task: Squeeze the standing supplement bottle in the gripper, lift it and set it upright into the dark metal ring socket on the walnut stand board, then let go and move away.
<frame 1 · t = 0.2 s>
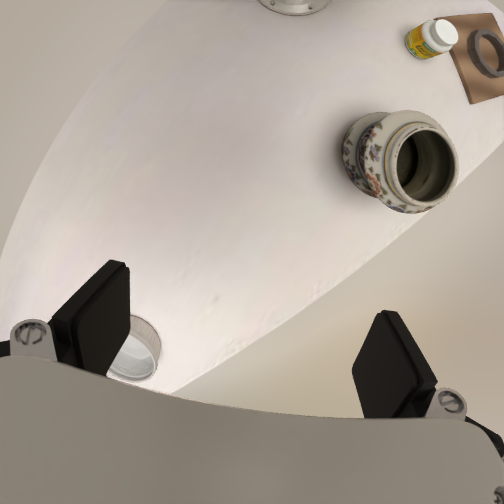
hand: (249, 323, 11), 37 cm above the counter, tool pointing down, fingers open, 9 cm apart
apothecary jar: (371, 152, 43), on the counter
stand board: (482, 55, 34), on the counter
ramekin: (135, 336, 58), on the counter
supplement bottle: (417, 45, 35), on the counter
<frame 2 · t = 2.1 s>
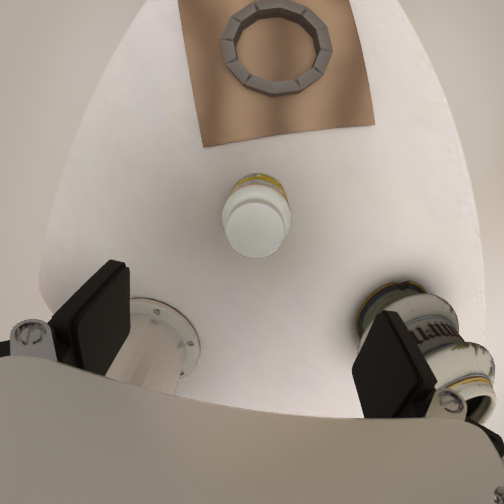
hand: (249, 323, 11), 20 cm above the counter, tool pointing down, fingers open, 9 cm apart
apothecary jar: (393, 315, 34), on the counter
stand board: (275, 53, 24), on the counter
supplement bottle: (258, 200, 30), on the counter
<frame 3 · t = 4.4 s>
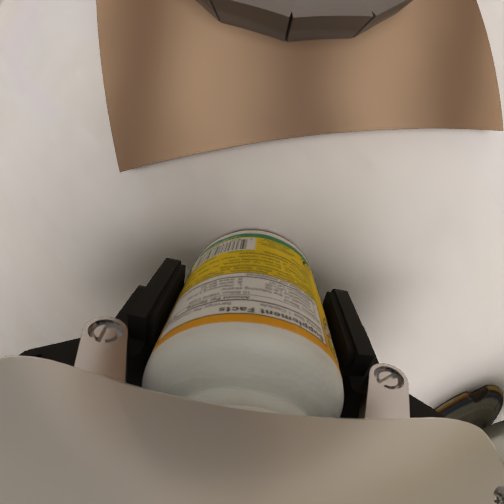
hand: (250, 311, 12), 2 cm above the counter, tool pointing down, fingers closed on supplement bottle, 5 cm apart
apothecary jar: (452, 424, 18), on the counter
supplement bottle: (252, 284, 14), on the counter, touching gripper
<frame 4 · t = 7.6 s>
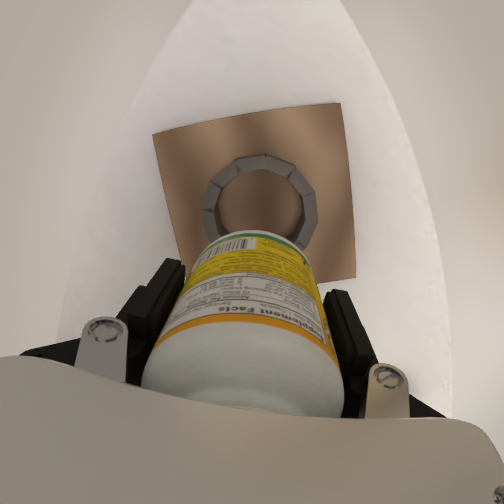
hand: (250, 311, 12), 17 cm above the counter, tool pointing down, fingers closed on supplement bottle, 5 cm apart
stand board: (260, 204, 27), on the counter
supplement bottle: (253, 284, 14), point 15 cm above the counter, touching gripper
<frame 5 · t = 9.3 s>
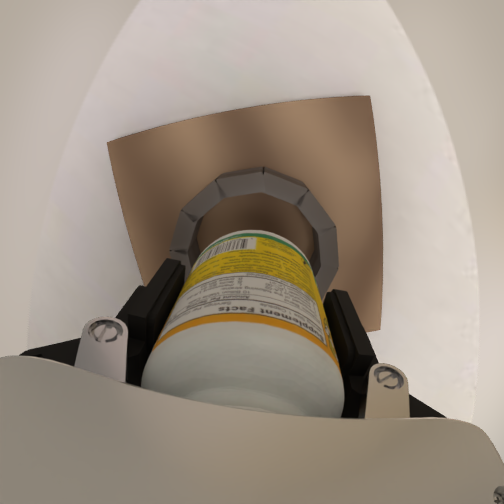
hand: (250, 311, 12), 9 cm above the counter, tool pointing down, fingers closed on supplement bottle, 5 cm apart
stand board: (256, 236, 20), on the counter
supplement bottle: (253, 284, 14), point 7 cm above the counter, touching gripper
when the fingers open (4 cm above the counter, at t = 10.9 s): supplement bottle stays where it is, resting on stand board.
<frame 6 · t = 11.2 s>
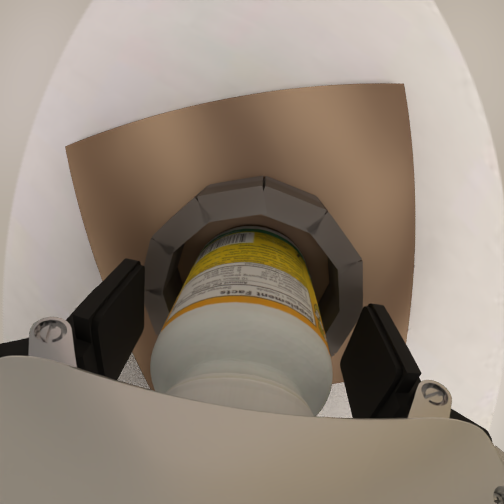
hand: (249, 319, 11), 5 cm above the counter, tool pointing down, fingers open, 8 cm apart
stand board: (254, 264, 16), on the counter
supplement bottle: (251, 276, 15), point 1 cm above the counter, touching stand board
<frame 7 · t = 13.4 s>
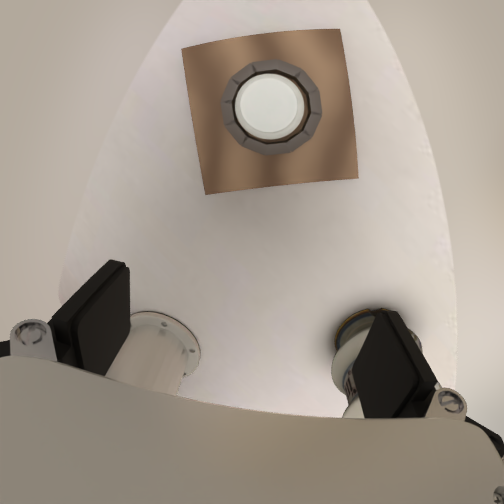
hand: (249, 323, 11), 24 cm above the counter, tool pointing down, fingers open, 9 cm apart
apothecary jar: (368, 335, 40), on the counter
stand board: (271, 108, 29), on the counter
supplement bottle: (270, 109, 28), point 1 cm above the counter, touching stand board
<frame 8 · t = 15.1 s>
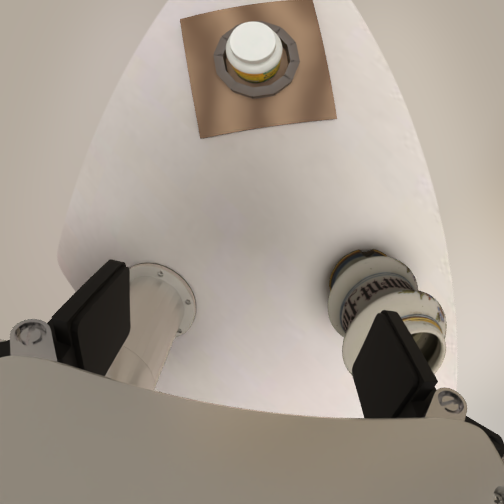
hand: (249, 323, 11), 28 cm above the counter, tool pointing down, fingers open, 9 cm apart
apothecary jar: (362, 280, 42), on the counter
stand board: (257, 64, 31), on the counter
supplement bottle: (256, 63, 31), point 1 cm above the counter, touching stand board
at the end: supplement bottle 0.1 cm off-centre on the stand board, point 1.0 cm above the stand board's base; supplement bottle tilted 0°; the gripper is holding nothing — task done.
